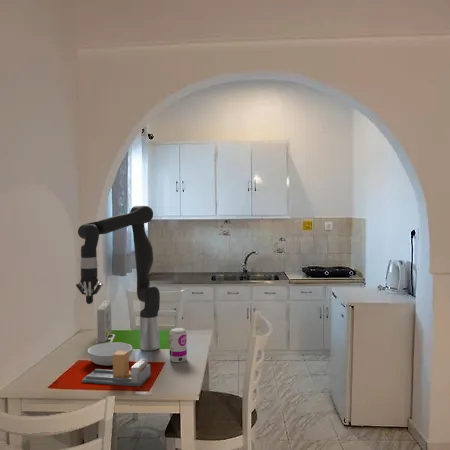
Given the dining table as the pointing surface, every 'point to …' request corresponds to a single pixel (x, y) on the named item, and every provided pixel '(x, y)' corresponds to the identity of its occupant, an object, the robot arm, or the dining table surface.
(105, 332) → the network device
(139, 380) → the rail
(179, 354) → the supplement can
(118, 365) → the block
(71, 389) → the dining table surface
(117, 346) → the serving bowl
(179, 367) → the dining table surface
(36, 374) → the dining table surface
